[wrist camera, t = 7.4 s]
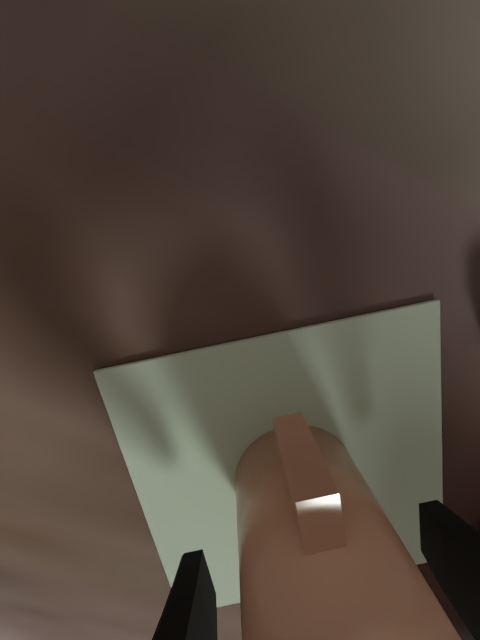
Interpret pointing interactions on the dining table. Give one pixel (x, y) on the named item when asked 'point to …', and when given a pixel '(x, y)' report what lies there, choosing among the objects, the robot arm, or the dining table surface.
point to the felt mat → (256, 419)
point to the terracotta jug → (322, 547)
